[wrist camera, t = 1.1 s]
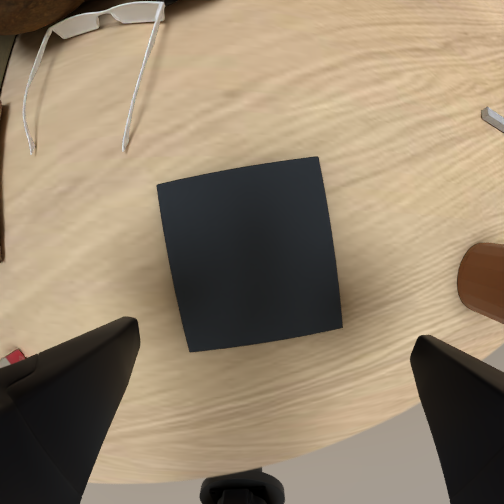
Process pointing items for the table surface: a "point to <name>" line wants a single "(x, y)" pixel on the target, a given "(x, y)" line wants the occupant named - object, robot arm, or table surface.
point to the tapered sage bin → (5, 52)
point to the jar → (483, 280)
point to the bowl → (33, 14)
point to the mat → (251, 254)
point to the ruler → (493, 118)
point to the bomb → (167, 1)
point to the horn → (0, 118)
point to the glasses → (90, 21)
